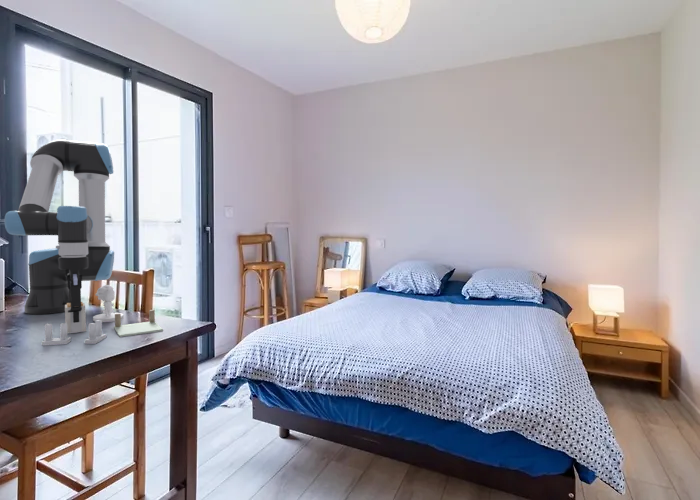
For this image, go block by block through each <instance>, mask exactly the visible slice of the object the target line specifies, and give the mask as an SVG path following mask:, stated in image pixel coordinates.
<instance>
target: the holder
mask: <svg viewBox="0 0 700 500" xmlns="http://www.w3.org/2000/svg"><path fill="white" fill-rule="evenodd" d="M148 311H149V313H148V314H149V315H148V316H149V317H148V319H149V321H143V322H136V323H134V322H133V323H129V324H127V323H126V324H121V323H122V322H121V321H122V319H121V314H119V313H120V312H117V313H118V314H115V321H114V326H113V328H114V330H115V332H116V333H117V336H118V337H119V338H123V337H130V336H137V335H143V334H151V333H158V332H159V333H160V332H163V331H164V328H162V327H161V326H160V324H158V323H157V322H156V317H155V316H156V315H155V309H150V310H148Z"/></svg>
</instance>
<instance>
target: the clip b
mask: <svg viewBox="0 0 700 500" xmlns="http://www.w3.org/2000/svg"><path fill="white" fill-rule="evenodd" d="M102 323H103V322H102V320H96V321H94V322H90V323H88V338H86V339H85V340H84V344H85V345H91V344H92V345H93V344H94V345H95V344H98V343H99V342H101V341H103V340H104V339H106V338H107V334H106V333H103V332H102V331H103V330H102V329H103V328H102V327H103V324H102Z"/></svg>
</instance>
